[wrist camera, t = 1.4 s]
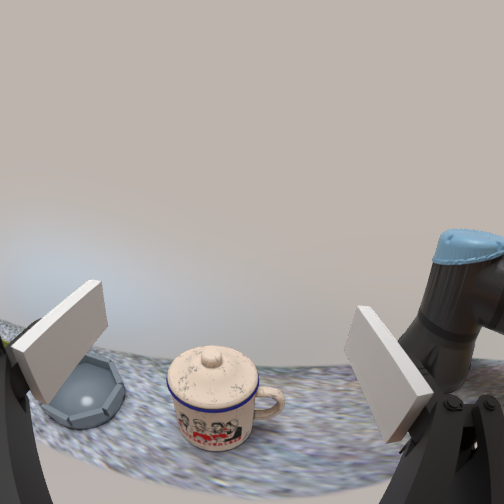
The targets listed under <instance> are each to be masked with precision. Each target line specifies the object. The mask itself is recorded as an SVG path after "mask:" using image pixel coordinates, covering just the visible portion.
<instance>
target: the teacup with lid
mask: <svg viewBox="0 0 504 504" xmlns="http://www.w3.org/2000/svg"><path fill="white" fill-rule="evenodd" d="M167 386H168V389H169V391H170V393H171V394H172V398H173V402H174V407H175V411H176V415H177V419H178V423H179V427H180V430H181V432H182V434H183V436H184V437H185V438H186V439H187V440H188V441H189V442H190V443H191V444H193V445H194V446H196V447H198V448H201V449H204V450H209V451H225V450H229V449H232V448H234V447H237V446H238V445H240V444H241V443H243V442H244V441H245V440H246V439H247V437H248V436H249V434H250V432H251V430H252V424H253V420H264V419H269V418H272V417H275V416H276V415H278V414H279V413H280V412H281V411H282V410H283V408H284V406H285V397H284V395H283V393H282V392H280V391H279V390H277V389H275V388H271V387H259V375H258V372H257V369H256V367H255V365H254V364H253V363H252V361H251V360H250V359H249V358H248V357H246V356H245V355H244V354H242V353H240V352H238V351H236V350H234V349H231V348H227V347H221V346H202V347H197V348H193V349H190V350H188V351H186V352H184V353H182V354H181V355H180V356H178V357H177V358H176V359H175V360H174V361H173V362H172V364H171V365H170V367H169V370H168V373H167ZM255 397H267V398H272V399H274V400H276V401H277V404H276V405H275V406H273V407H272V408H270V409H266V410H254V404H255Z"/></svg>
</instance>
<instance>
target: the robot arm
mask: <svg viewBox="0 0 504 504" xmlns="http://www.w3.org/2000/svg"><path fill="white" fill-rule="evenodd" d="M432 261H433V264H432V268H431V272H430V276H429V279H428V283H427V287H426V290H425V293H424V296H423V299H422V302H421V305H420V308H419V311H418V315H417V317H416V318H415V319H414V321H413V322H412V323H411V325H410V326H409V328H408V329H407V330H406V332H405V333H404V334H403V335H402V336H401V337H400V338H399V340H398V341H396V339H395V338H394V337H393V335H392V334H391V333H390V331H389V330H388V329H387V327H386V326H385V325H384V324H383V322H382V321H381V320H380V319H379V317H378V316H377V315H376V313H375V312H374V311H373V310H372V308H371V307H370V306H357V307H356V311H355V315H354V318H353V322H352V325H351V328H350V332H349V335H348V339H347V341H346V345H345V348H344V351H345V353H346V355H347V357H348V360H349V362H350V364H351V366H352V368H353V371H354V373H355V375H356V377H357V379H358V382H359V384H360V386H361V388H362V390H363V393H364V395H365V397H366V399H367V402H368V404H369V406H370V409H371V411H372V413H373V416H374V418H375V420H376V423H377V425H378V427H379V430H380V432H381V435H382V437H383V439H384V442H385V444H388V443H392V442H397V441H401V440H402V439H403V437H404V436H405V435H406V433H407V432H409V434H410V436H411V438H410V440H409V441H408V442H407V443H406V445H405V446H404V447H403V448H402V449H401V451H400V452H399V453H400V454H401V453H402V452H403V451H404V453H403V455H402V457H401V460H400V462H399V464H398V467H397V469H396V471H395V473H394V475H393V477H392V479H391V482H390V484H389V486H388V488H387V489H386V491H385V494H384V495H383V497H382V499H381V501H380V503H379V504H504V416H503V412H502V409H501V406H500V404H499V402H498V401H497V400H496V398H495V397H493V396H490V395H482V396H480V397H479V399H478V400H477V402H476V403H475V404H463V402H462V400H460V399H459V398H458V397H456V396H454V395H451V394H446V393H450V392H453V391H455V390H457V389H458V388H459V387H460V386H461V385H462V384H463V382H464V380H465V379H466V377H467V375H468V373H469V371H470V367H471V358H472V355H473V351H474V346H475V341H476V338H477V336H478V334H479V332H480V329H481V327H485V328H488V329H490V330H493V331H495V332H498V333H500V334H503V335H504V237H502V236H498V235H494V234H492V233H488V232H483V231H476V230H469V229H450V230H447V231H445V232H444V233H442V235H441V236H440V238H439V241H438V245H437V248H436V252H435V255H434V256H433V259H432ZM107 327H108V323H107V317H106V311H105V304H104V297H103V289H102V282H101V281H97V280H91V279H90V280H89V281H87V282H86V283H85V284H83V285H82V286H81V287H80V288H78V289H77V290H76V291H75V292H73V293H72V294H71V295H70V296H68V297H67V298H66V299H65V300H64V301H62V302H61V303H60V304H59V305H57V306H56V307H55V308H54V309H53V310H51V311H50V312H49V313H48V314H47V315H46V316H44V317H43V318H40V319H38V320H36V321H34V322H33V323H32V324H30V325H29V326H28V327H27V329H25V330H24V331H23V332H22V333H20V334H19V335H18V336H17V337H16V338H15V339H14V340H13V341H11V342H10V343H9V344H8V345H7V346H6V347H4V344H3V341H2V339H1V336H0V504H53V502H52V500H51V497H50V494H49V491H48V488H47V485H46V482H45V478H44V475H43V472H42V468H41V465H40V461H39V456H38V453H37V448H36V443H35V438H34V432H33V427H32V420H31V413H30V406H29V399H28V396H27V394H26V393H27V392H28V391H29V390H30V391H31V393H32V395H33V397H34V398H35V400H37V401H39V402H41V403H43V404H45V405H47V406H48V405H49V403H50V402H51V400H52V399H53V397H54V396H55V395H56V393H57V392H58V390H59V389H60V388H61V386H62V385H63V384H64V382H65V381H66V379H67V378H68V377H69V375H70V374H71V373H72V371H73V370H74V369H75V367H76V366H77V365H78V363H79V362H80V361H81V360H82V358H83V357H84V356H85V354H86V353H87V352H88V351H89V349H90V348H91V347H92V345H93V344H94V343H95V342H96V340H97V339H98V338H99V337H100V335H101V334H102V333H103V331H104V330H105V329H106V328H107ZM476 442H477V448H476V449H475V447H474V444H475V443H476Z"/></svg>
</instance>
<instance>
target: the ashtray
mask: <svg viewBox="0 0 504 504" xmlns="http://www.w3.org/2000/svg"><path fill="white" fill-rule="evenodd" d="M124 390H125V387H124V384H123V382H122V380H121V377H120V375H119V373H118V371H117V369H116V366H115V364H114V362H113V361H111V359H108V358H105V357H102V356H99V355H95V354H92V353H89V352H87V353H86V354H85V356H84V357H83V358H82V360H81V361H80V362H79V363H78V365H77V366H76V367H75V369H74V370H73V371H72V373H71V374H70V375H69V377H68V378H67V379H66V381H65V382H64V384H63V385H62V386H61V388H60V389H59V390H58V392H57V393H56V395H55V396H54V397H53V399H52V400H51V402H50V403H49V405H48V406H47V405H45V404H43V403H41V402H39V404H40V406H41V408H42V409H43V411H44V412H45V413H46V414H47V415H49V416H51V417H52V418H53V419H54V420H55V421H56V422H57V423H59V424H61V425H63V426H65V427H68V428H73V429H89V428H93V427H96V426H99V425H101V424H103V423H105V422H107V421H108V420H109V419H111V418H112V417H113V416H114V415H115V414H116V413H117V411H118V410H119V408H120V406H121V404H122V402H123V397H124V394H125V391H124Z"/></svg>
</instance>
